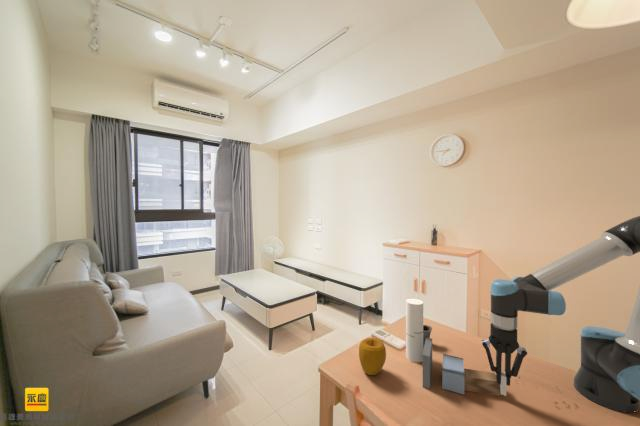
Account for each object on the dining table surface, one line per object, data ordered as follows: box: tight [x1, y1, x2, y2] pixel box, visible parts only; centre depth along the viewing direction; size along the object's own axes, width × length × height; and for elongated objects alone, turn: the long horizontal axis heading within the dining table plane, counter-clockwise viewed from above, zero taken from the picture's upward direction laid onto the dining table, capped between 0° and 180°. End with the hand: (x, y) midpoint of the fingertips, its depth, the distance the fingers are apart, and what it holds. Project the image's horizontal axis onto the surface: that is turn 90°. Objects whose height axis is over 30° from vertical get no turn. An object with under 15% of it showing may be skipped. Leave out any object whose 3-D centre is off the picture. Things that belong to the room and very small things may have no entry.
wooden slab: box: [464, 368, 501, 397], centre depth 92 cm, size 14×5×5 cm, turn 74°
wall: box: [422, 337, 433, 390], centre depth 98 cm, size 2×14×12 cm, turn 152°
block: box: [441, 353, 465, 395], centre depth 94 cm, size 7×10×8 cm
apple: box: [358, 337, 387, 376], centre depth 102 cm, size 11×11×13 cm
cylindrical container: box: [405, 298, 424, 363], centre depth 111 cm, size 7×7×25 cm
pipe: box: [423, 324, 433, 346], centre depth 121 cm, size 6×13×8 cm, turn 107°
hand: (502, 392), depth 87 cm, fingers closed
